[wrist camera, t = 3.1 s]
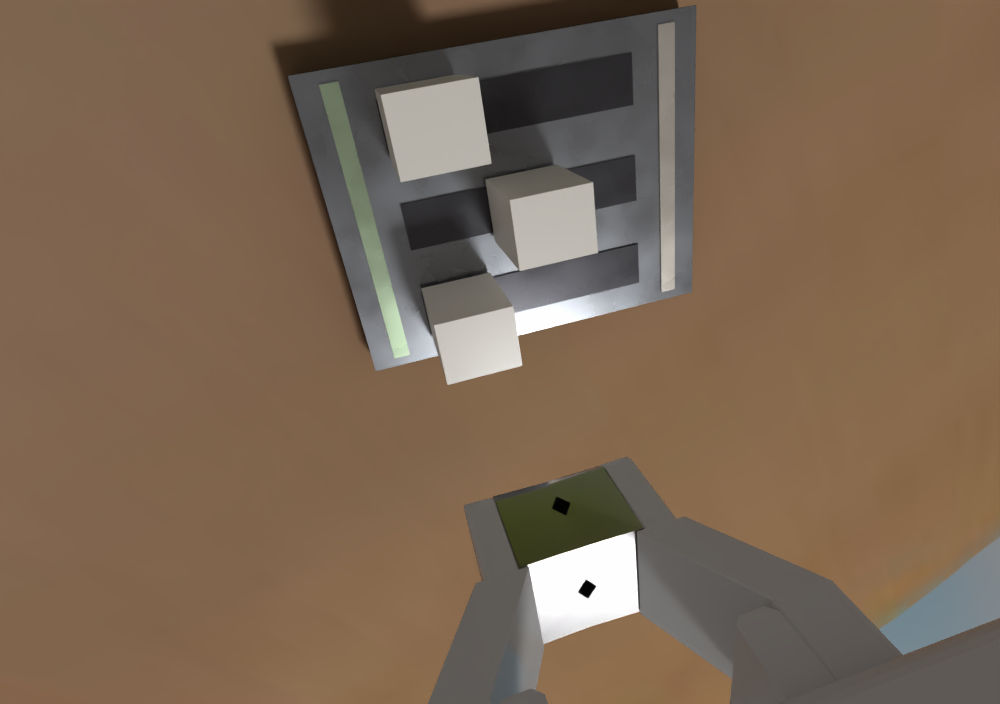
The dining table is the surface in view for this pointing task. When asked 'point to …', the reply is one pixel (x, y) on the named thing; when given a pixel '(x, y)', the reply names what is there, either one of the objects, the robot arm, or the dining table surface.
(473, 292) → the breaker
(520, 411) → the dining table surface
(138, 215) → the dining table surface
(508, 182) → the block
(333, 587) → the dining table surface
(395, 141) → the block
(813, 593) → the robot arm
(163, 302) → the dining table surface
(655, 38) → the panel
